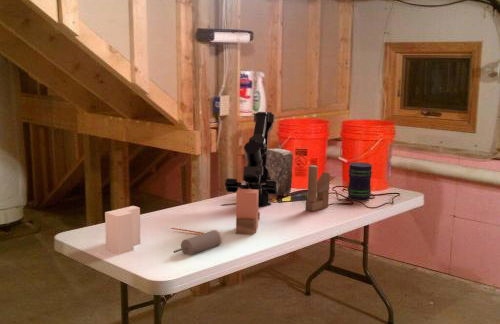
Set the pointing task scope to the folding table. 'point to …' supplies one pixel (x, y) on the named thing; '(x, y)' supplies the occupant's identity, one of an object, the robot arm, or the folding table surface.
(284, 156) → the stone block
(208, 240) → the motor
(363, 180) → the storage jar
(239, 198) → the block
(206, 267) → the folding table surface
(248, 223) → the rail
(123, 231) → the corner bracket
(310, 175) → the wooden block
